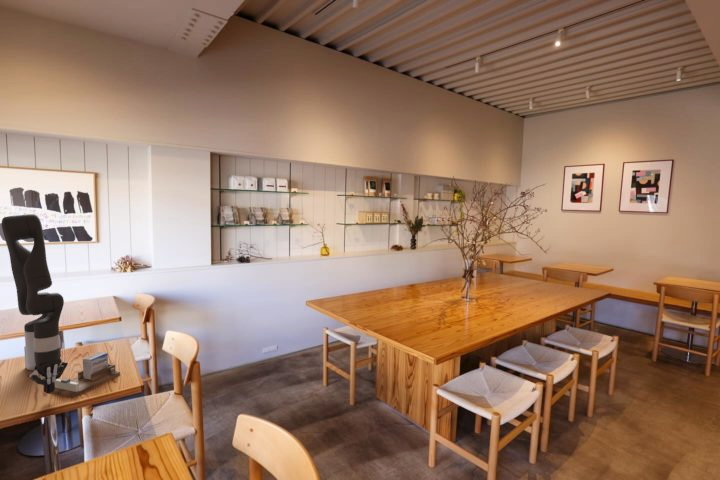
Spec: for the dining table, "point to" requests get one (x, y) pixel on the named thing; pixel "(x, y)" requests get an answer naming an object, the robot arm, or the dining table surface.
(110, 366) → the housing
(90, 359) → the medicine box
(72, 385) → the gate
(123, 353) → the dining table surface
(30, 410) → the dining table surface
